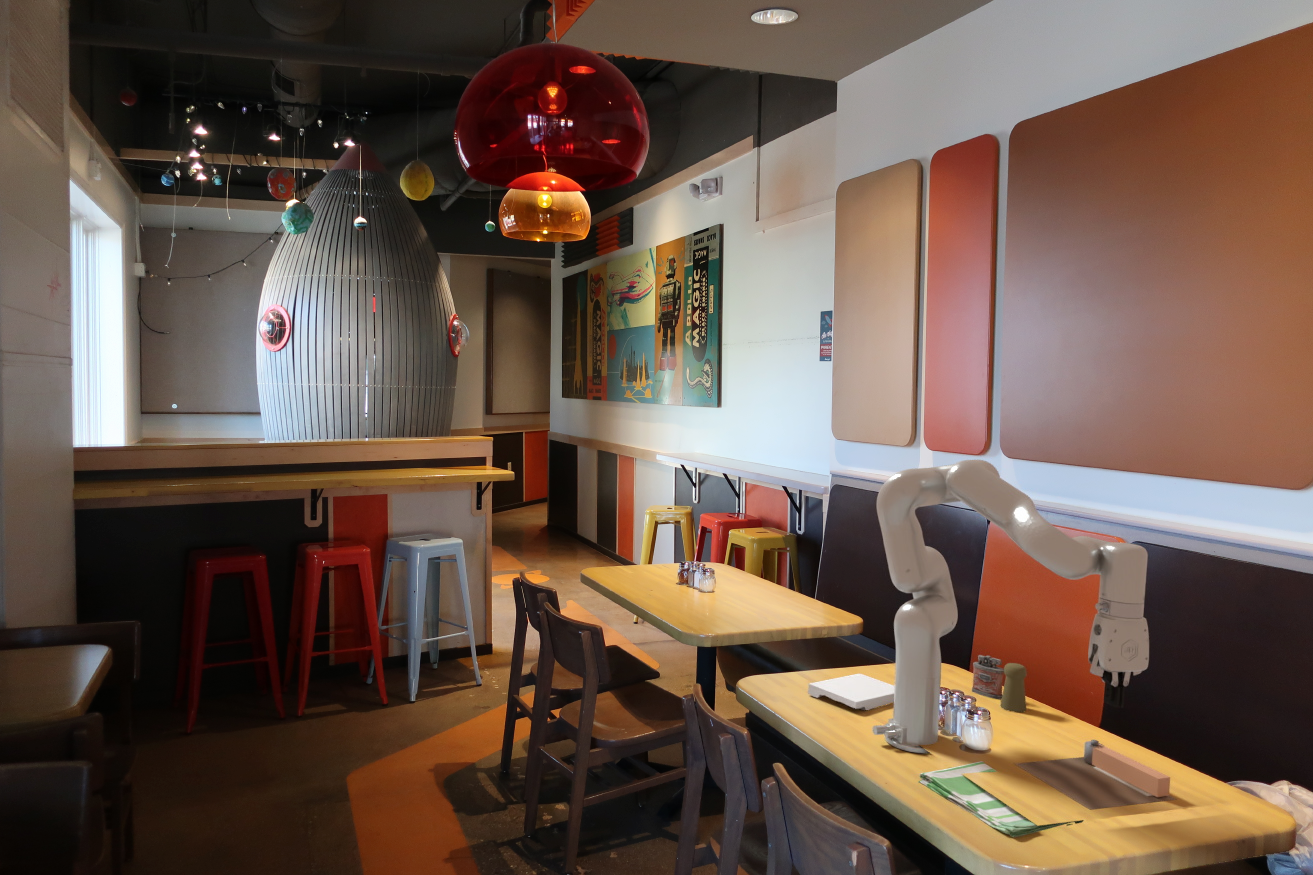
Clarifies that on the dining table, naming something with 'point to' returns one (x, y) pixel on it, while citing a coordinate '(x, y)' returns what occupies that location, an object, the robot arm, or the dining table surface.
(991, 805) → the dish towel
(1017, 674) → the olive pepper mill
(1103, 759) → the folding leg
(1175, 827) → the dining table surface
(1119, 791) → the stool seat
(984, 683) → the lighter
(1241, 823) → the dining table surface
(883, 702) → the white flat block
